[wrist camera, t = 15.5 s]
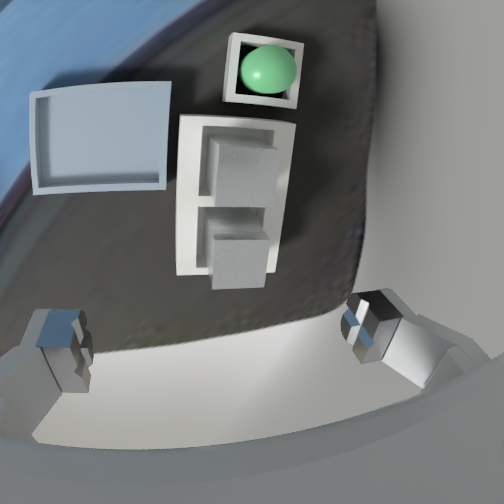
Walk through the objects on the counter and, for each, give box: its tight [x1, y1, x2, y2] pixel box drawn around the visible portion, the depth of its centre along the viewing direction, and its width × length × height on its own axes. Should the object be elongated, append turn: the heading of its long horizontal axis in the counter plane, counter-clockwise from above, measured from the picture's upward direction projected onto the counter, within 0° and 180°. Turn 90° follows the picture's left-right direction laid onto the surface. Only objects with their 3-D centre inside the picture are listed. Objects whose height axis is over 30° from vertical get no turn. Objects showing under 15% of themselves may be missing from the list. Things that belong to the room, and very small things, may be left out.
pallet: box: [176, 114, 296, 275], centre depth 27 cm, size 14×9×4 cm, turn 174°
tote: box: [29, 81, 172, 195], centre depth 23 cm, size 9×12×2 cm
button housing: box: [222, 32, 304, 109], centre depth 23 cm, size 6×6×2 cm
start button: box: [238, 45, 297, 93], centre depth 22 cm, size 4×4×3 cm
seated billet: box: [203, 207, 271, 289], centre depth 26 cm, size 4×4×7 cm
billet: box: [205, 134, 281, 208], centre depth 23 cm, size 4×4×7 cm
